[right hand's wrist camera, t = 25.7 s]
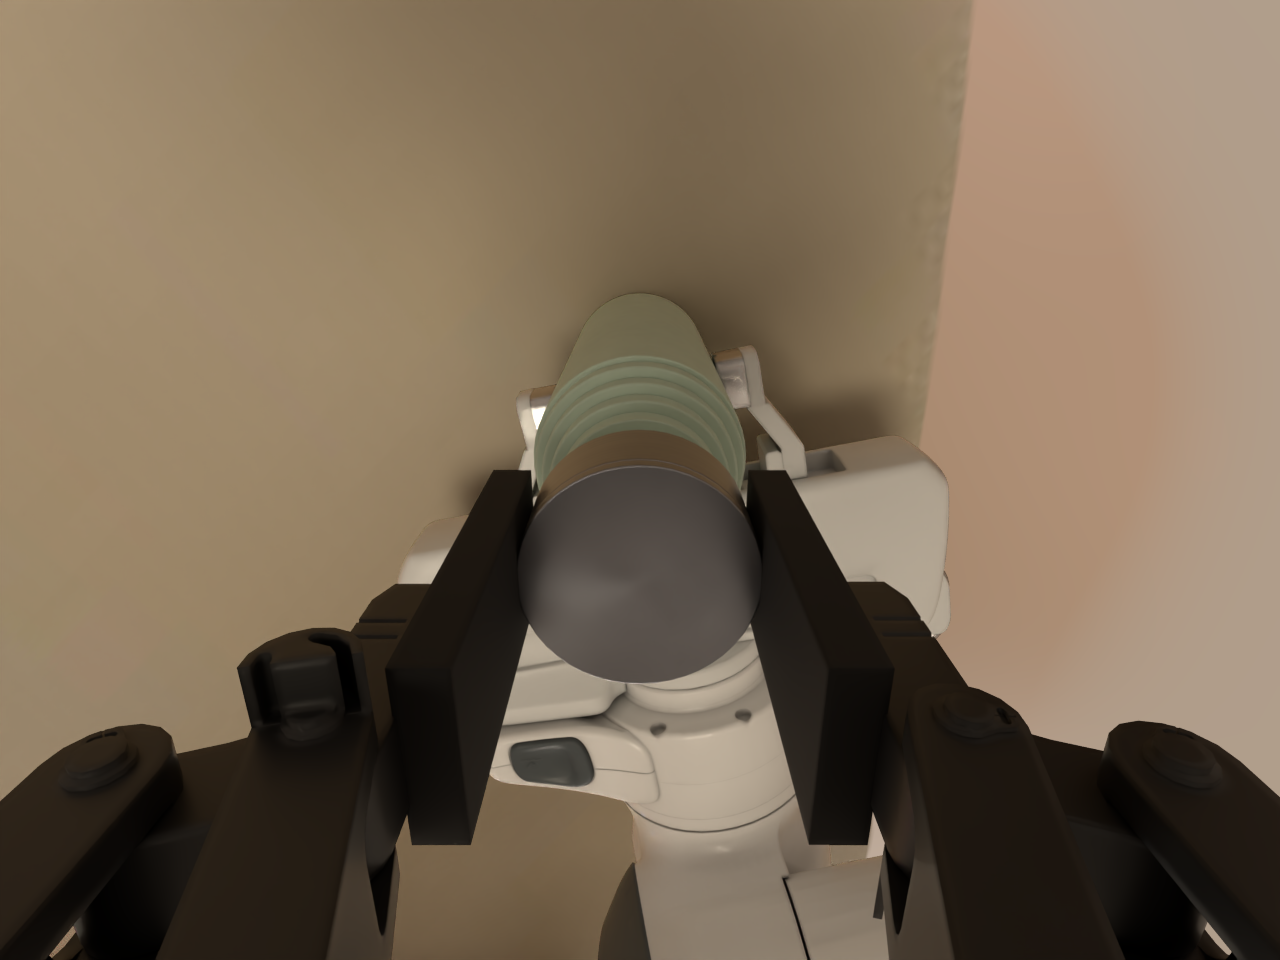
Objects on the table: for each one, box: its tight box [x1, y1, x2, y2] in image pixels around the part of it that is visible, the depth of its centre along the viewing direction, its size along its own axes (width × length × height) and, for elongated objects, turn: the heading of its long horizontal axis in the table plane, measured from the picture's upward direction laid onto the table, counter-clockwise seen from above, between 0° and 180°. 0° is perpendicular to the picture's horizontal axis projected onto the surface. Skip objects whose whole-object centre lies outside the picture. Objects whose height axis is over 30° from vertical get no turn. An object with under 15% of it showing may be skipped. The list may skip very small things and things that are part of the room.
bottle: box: [534, 293, 746, 491], centre depth 22 cm, size 6×6×19 cm
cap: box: [517, 430, 762, 684], centre depth 14 cm, size 4×4×2 cm
